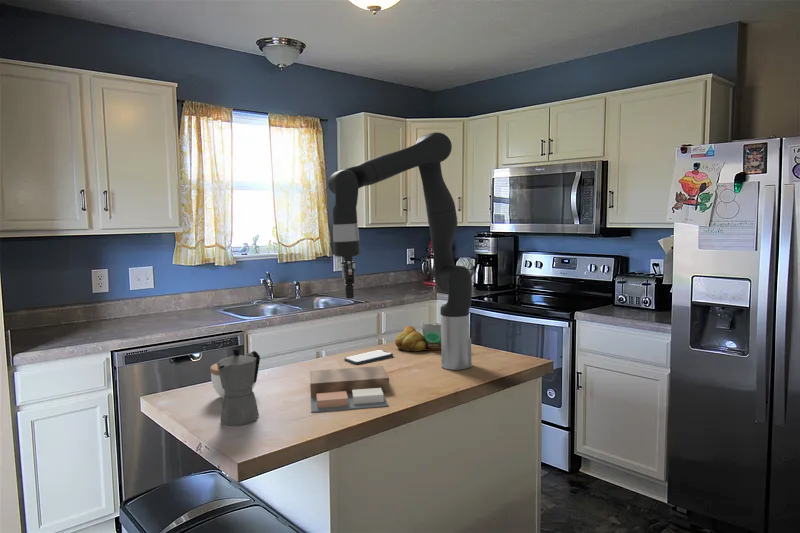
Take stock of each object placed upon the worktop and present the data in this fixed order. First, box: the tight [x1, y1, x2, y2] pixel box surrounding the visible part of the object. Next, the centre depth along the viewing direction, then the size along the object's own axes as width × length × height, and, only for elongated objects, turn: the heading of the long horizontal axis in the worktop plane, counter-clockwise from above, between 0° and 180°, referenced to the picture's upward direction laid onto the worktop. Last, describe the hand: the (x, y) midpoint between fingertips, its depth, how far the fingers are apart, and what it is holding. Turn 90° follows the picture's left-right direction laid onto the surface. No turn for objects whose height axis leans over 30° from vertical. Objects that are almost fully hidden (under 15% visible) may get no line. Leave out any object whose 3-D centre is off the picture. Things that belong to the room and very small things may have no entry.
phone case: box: [343, 349, 394, 366], centre depth 193 cm, size 9×2×16 cm
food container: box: [420, 322, 441, 352], centre depth 202 cm, size 12×6×10 cm, turn 81°
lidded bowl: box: [209, 362, 257, 400], centre depth 155 cm, size 13×13×11 cm
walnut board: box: [309, 365, 390, 398], centre depth 160 cm, size 22×13×4 cm, turn 100°
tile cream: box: [352, 388, 385, 404], centre depth 149 cm, size 8×6×2 cm
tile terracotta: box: [316, 391, 348, 408], centre depth 146 cm, size 8×6×2 cm
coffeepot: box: [216, 347, 261, 427], centre depth 137 cm, size 15×9×18 cm, turn 159°
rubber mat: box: [310, 393, 390, 414], centre depth 148 cm, size 20×12×1 cm, turn 100°
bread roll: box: [394, 325, 426, 352], centre depth 204 cm, size 13×10×8 cm
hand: (349, 298), depth 162 cm, fingers closed
